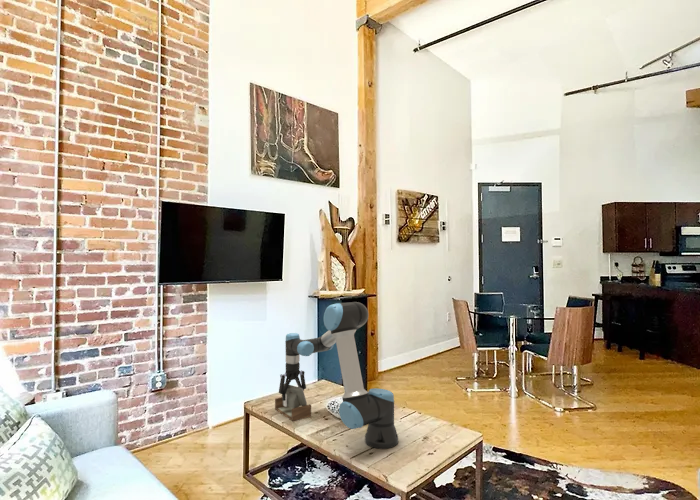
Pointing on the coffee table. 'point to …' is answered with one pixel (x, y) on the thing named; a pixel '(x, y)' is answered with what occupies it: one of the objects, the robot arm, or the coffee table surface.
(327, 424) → the coffee table surface
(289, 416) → the cradle
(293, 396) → the digital clock
